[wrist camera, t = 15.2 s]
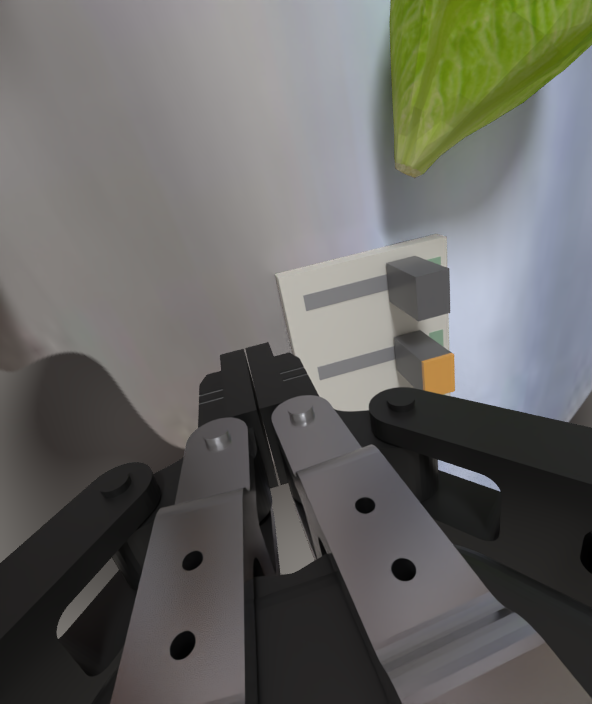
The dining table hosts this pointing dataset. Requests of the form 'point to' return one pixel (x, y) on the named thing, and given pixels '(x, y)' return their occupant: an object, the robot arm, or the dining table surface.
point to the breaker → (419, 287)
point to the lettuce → (473, 65)
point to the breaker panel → (354, 321)
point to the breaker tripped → (424, 362)
